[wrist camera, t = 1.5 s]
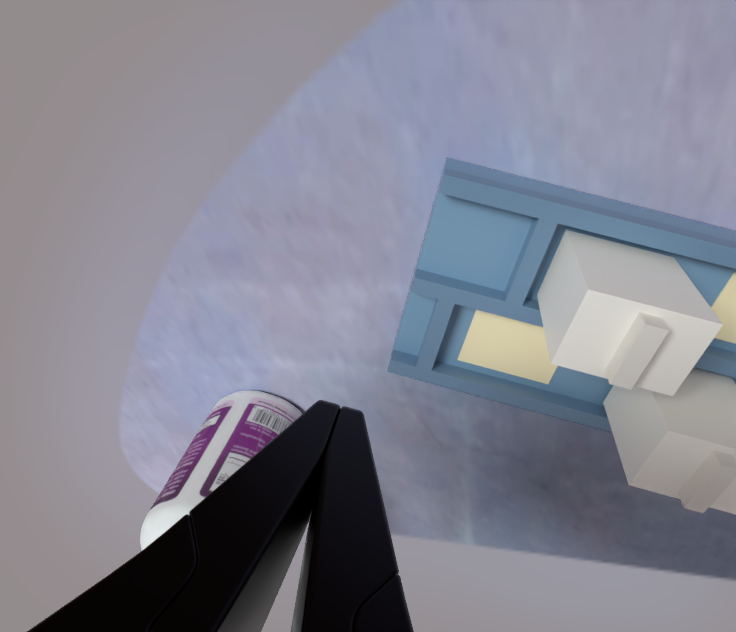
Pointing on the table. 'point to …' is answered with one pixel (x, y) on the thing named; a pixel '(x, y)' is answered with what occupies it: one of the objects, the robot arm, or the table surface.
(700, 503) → the tab far
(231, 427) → the pill bottle
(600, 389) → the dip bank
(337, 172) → the table surface
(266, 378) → the table surface
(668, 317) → the tab near
